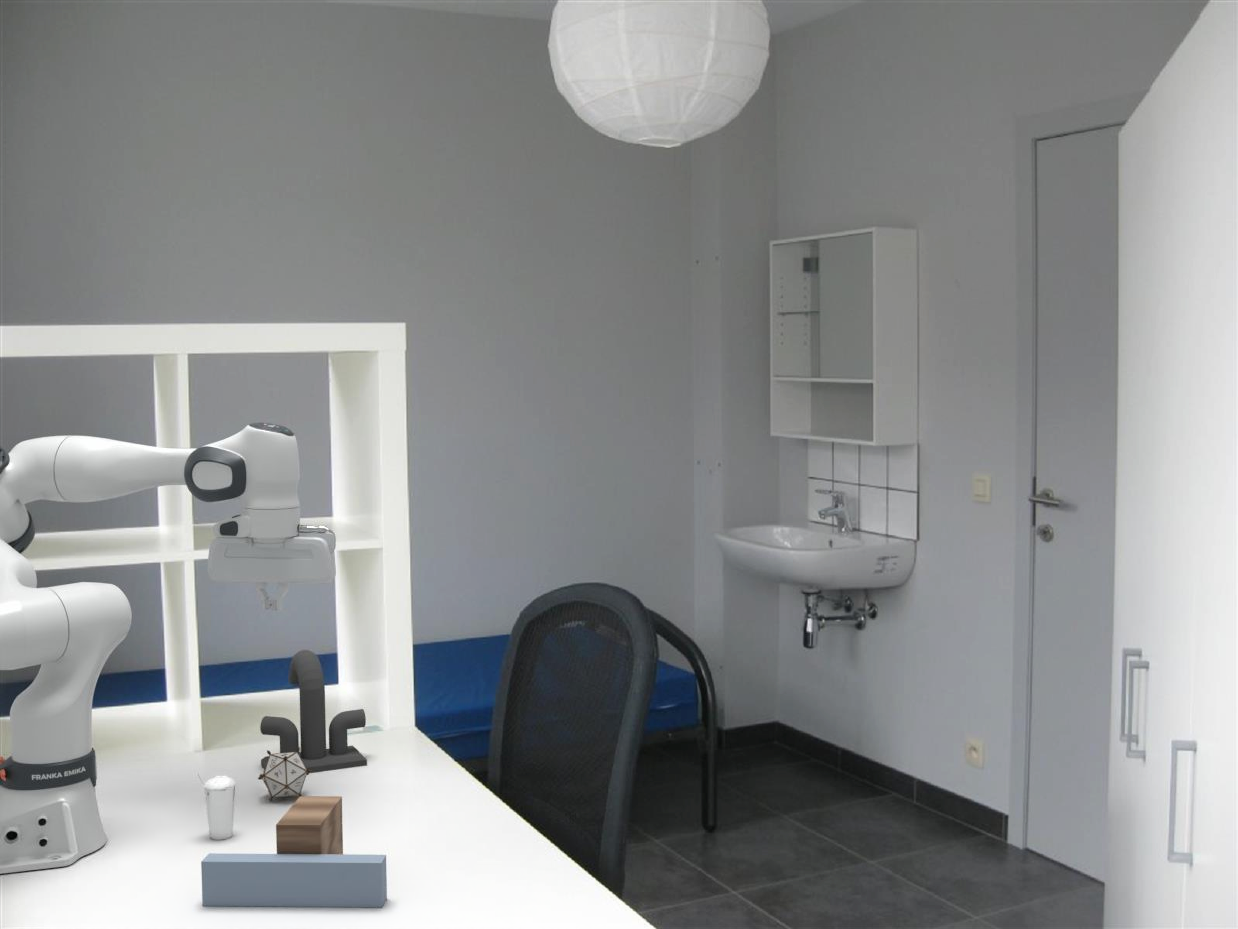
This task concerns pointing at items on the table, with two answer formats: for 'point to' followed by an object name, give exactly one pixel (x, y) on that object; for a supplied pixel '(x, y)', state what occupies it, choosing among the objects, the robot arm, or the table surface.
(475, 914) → the table surface
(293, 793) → the game die
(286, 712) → the table surface
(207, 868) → the slate board
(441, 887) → the table surface
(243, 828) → the table surface
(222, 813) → the milkshake
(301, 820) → the walnut block
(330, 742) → the faucet
